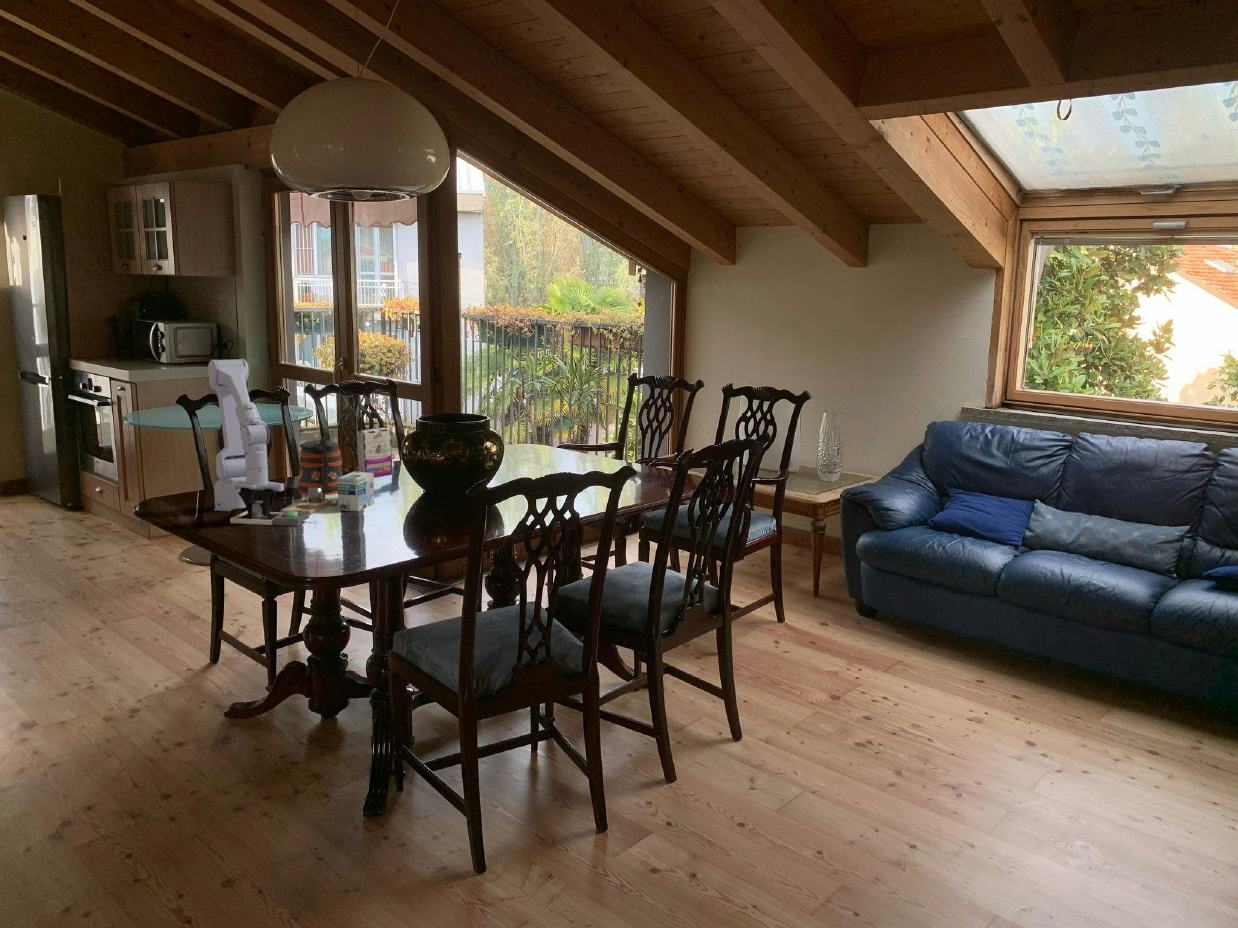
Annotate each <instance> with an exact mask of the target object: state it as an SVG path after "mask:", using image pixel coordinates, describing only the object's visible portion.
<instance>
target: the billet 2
mask: <svg viewBox="0 0 1238 928" xmlns="http://www.w3.org/2000/svg"><path fill="white" fill-rule="evenodd" d="M307 497H308V500H309V503H323V498H324V497H323V495H322V487H320V486H312V487H308V495H307Z"/></svg>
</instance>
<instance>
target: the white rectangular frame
mask: <svg viewBox="0 0 1238 928" xmlns="http://www.w3.org/2000/svg"><path fill="white" fill-rule="evenodd" d="M280 514H282V513H281V511H279V512H278V511H277V512H276V511H270V515H276V516H278V515H280ZM246 515H248V511H247V510H246V511H244V512H241V513H240V514H237V515H235V516H232V517H231V518H229V519H230V520H229V521H230V524H242V525H243V524H244V525H262V526H263V525H266V526H274V521H273V518H272V519H269V518H268V519H267V518H266V519H267V520H260V519H252V518H250V517H249V518H248V517H243V516H246Z"/></svg>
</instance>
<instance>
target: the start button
mask: <svg viewBox="0 0 1238 928" xmlns="http://www.w3.org/2000/svg"><path fill="white" fill-rule="evenodd" d="M284 515H285V517H291V518H296V517H298V512H297V511H287V512H285V513H284Z"/></svg>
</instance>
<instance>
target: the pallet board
mask: <svg viewBox="0 0 1238 928" xmlns="http://www.w3.org/2000/svg"><path fill="white" fill-rule="evenodd" d="M322 498H323V503H309V500H308V496H306V497H305V498H303V499H301V500H298V501H296V502H295V503H292V504H289V505H288V506H286V507H284V508H281V509H280V511H279V512H280V513H284V512H287V511H297V512H298V513H309V516H312V515H314V514H316V513H317V512H319V511H321V510H323V509H325V508H327V507H329V506H331V505H333V504H335V503H336V502H337V501H336V498H335V497H334V498H332V497H322Z"/></svg>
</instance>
